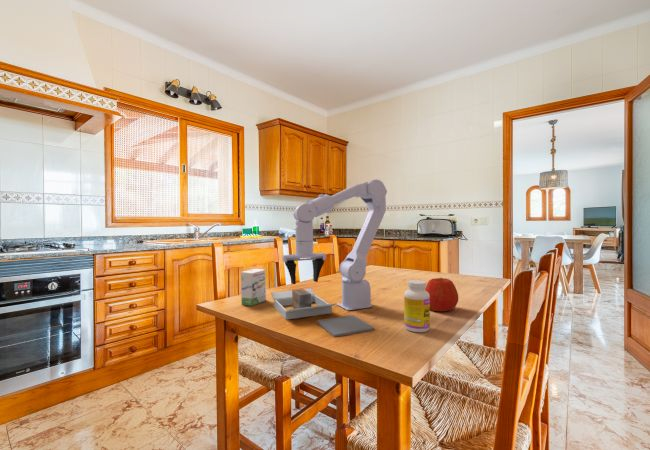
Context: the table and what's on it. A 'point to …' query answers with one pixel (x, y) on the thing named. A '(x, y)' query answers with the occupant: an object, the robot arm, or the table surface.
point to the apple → (442, 294)
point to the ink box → (253, 286)
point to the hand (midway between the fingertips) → (304, 282)
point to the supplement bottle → (417, 307)
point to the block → (301, 298)
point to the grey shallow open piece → (286, 299)
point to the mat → (344, 325)
